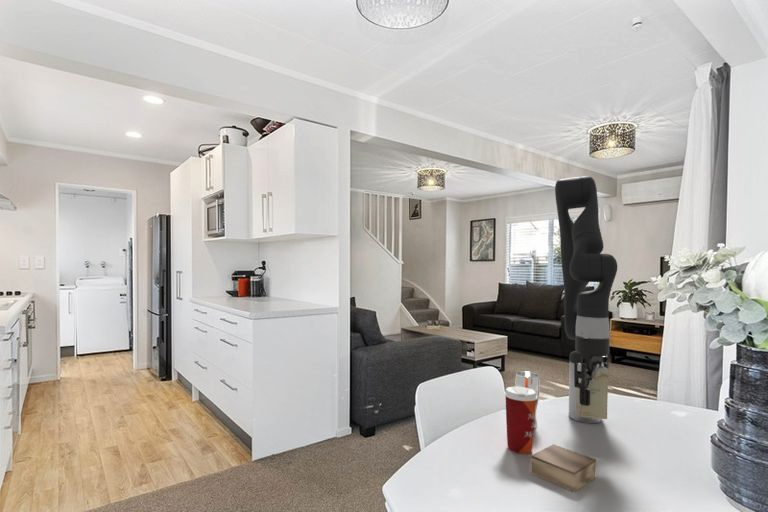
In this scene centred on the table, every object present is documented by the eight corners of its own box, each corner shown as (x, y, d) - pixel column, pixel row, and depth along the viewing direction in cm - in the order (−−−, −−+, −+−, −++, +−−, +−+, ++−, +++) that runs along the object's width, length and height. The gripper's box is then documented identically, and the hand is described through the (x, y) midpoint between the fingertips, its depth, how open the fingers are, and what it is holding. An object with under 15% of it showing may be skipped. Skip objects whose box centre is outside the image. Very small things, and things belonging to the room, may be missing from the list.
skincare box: (580, 417, 103) (581, 367, 103) (575, 411, 107) (575, 363, 107) (608, 419, 102) (608, 368, 102) (602, 412, 106) (602, 364, 106)
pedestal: (553, 460, 103) (553, 444, 103) (595, 477, 95) (595, 459, 95) (530, 473, 97) (531, 455, 97) (574, 491, 89) (574, 472, 89)
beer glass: (510, 424, 126) (511, 373, 126) (520, 418, 131) (521, 369, 131) (532, 431, 121) (533, 378, 122) (542, 424, 126) (543, 374, 127)
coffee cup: (538, 457, 104) (540, 396, 105) (504, 453, 106) (505, 393, 106) (534, 443, 113) (535, 387, 113) (501, 440, 114) (503, 384, 115)
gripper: (589, 329, 112) (589, 392, 112) (563, 335, 103) (562, 403, 103) (620, 333, 106) (619, 399, 106) (595, 340, 97) (594, 412, 97)
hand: (591, 401), depth 105 cm, fingers closed on skincare box, 7 cm apart
